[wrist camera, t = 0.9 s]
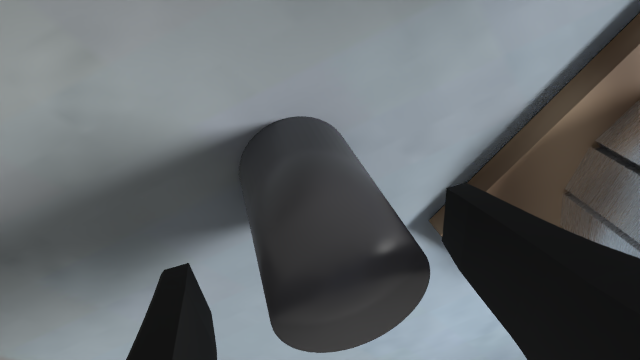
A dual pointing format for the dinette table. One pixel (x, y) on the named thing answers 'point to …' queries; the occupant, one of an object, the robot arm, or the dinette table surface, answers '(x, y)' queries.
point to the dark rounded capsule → (326, 239)
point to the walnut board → (563, 132)
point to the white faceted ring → (608, 188)
